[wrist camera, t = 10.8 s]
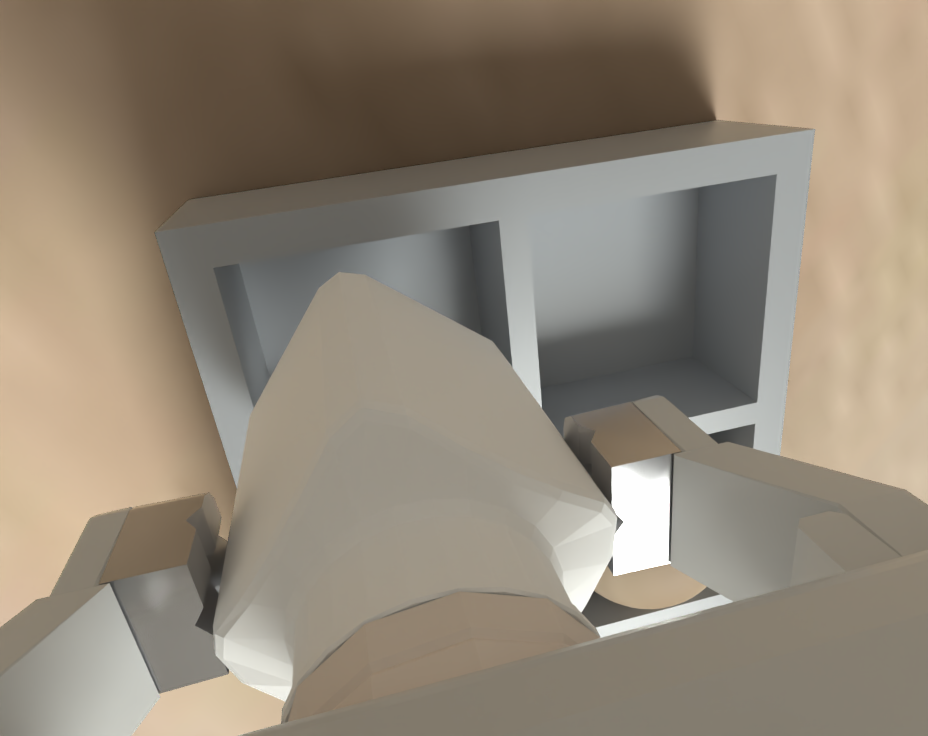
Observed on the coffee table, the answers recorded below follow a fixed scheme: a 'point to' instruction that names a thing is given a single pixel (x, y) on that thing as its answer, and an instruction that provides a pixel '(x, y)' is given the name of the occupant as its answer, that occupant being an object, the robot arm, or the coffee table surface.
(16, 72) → the coffee table surface
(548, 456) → the pepper shaker
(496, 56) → the coffee table surface
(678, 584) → the brown ball
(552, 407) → the grey compartment tray
